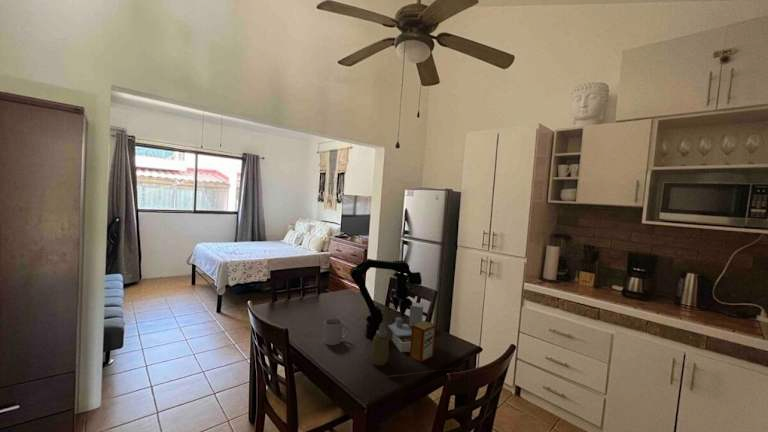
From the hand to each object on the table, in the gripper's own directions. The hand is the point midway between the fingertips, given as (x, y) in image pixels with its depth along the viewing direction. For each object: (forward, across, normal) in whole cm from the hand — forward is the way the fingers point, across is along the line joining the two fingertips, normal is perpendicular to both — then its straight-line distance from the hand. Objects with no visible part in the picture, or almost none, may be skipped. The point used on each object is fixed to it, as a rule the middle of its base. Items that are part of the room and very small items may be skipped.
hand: (399, 313), depth 165 cm
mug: (+13, -1, +34) cm, 37 cm away
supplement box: (+13, +12, -16) cm, 23 cm away
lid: (+7, -4, 0) cm, 8 cm away
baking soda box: (+13, -23, -3) cm, 27 cm away
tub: (+12, -12, 0) cm, 17 cm away
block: (+12, -10, -1) cm, 16 cm away
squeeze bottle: (+13, -25, +18) cm, 33 cm away
